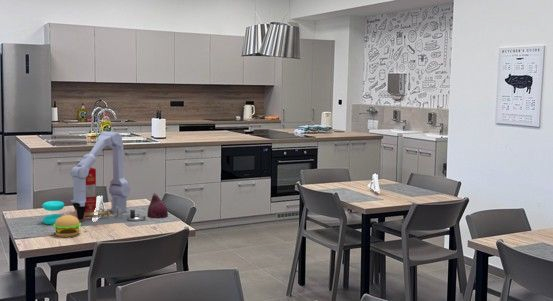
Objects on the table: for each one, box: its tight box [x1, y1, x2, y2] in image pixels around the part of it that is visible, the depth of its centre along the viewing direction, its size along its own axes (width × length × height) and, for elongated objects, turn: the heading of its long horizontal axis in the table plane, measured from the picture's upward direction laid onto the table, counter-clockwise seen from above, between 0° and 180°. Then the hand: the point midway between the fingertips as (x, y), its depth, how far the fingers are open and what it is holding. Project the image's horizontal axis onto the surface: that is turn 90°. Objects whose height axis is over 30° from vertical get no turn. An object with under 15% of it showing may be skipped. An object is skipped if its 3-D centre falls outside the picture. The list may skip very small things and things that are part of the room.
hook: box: [74, 208, 111, 221], centre depth 291 cm, size 4×16×6 cm, turn 119°
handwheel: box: [127, 209, 146, 222], centre depth 294 cm, size 9×9×5 cm
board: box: [79, 213, 148, 227], centre depth 292 cm, size 17×32×1 cm, turn 119°
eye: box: [114, 205, 123, 219], centre depth 298 cm, size 6×3×6 cm, turn 29°
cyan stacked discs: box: [41, 200, 65, 226], centre depth 286 cm, size 10×10×10 cm
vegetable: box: [146, 192, 169, 219], centre depth 301 cm, size 10×10×15 cm
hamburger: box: [52, 214, 81, 238], centre depth 265 cm, size 12×12×9 cm
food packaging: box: [85, 167, 97, 218], centre depth 302 cm, size 15×5×25 cm, turn 37°
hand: (79, 218), depth 289 cm, fingers closed on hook, 4 cm apart
